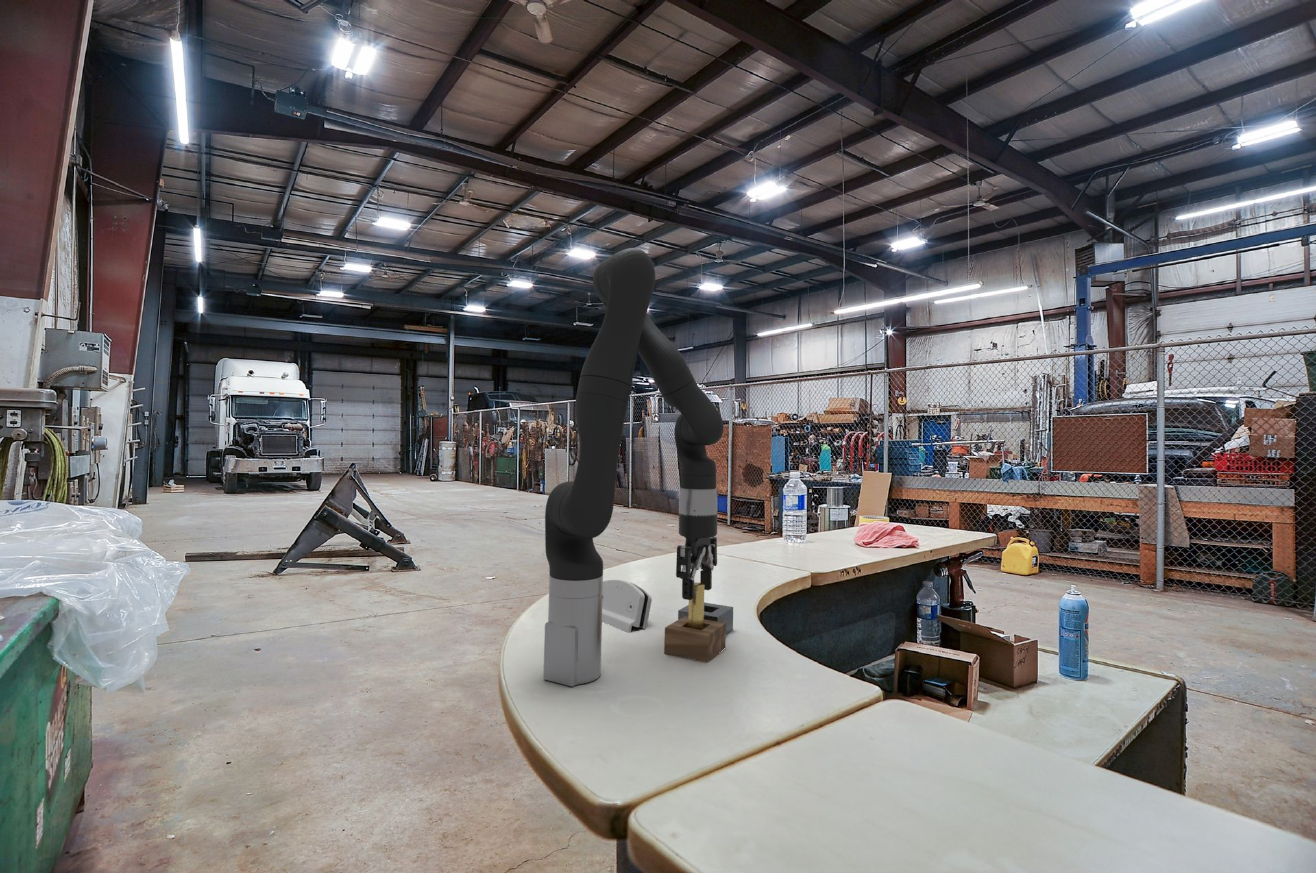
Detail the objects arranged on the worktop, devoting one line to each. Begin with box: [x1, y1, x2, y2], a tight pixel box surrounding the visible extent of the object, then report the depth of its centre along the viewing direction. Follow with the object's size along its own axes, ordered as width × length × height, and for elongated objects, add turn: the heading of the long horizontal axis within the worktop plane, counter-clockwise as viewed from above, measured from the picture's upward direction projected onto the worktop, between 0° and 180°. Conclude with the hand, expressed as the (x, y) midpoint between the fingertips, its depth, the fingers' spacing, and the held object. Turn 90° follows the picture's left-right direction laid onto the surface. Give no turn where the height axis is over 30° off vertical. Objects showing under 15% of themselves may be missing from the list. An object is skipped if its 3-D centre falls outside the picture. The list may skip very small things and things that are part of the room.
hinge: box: [602, 579, 653, 634], centre depth 136 cm, size 17×5×10 cm, turn 42°
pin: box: [688, 582, 705, 630], centre depth 117 cm, size 3×3×13 cm
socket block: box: [677, 601, 734, 636], centre depth 129 cm, size 9×9×5 cm
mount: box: [663, 616, 727, 663], centre depth 117 cm, size 9×9×5 cm
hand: (697, 594), depth 117 cm, fingers open, 8 cm apart
